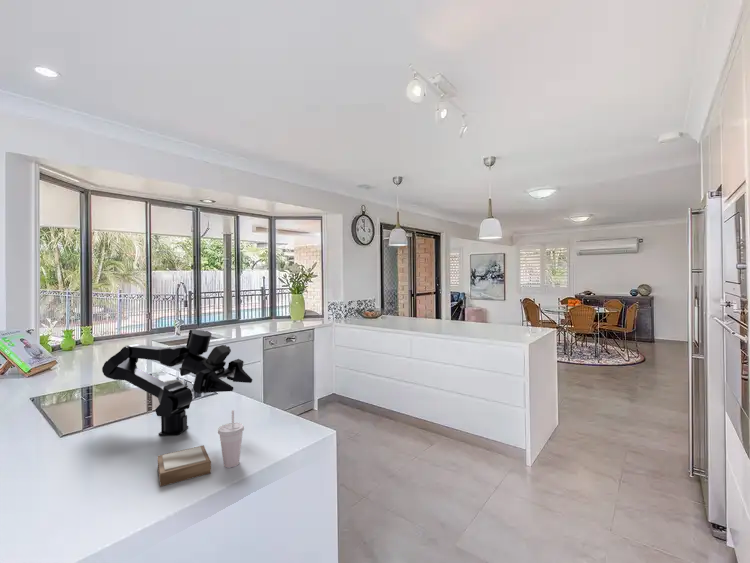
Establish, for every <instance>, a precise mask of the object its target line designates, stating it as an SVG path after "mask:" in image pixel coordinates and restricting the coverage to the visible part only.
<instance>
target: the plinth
mask: <svg viewBox="0 0 750 563" xmlns="http://www.w3.org/2000/svg"><path fill="white" fill-rule="evenodd" d="M211 463H212V462H211V458H210V457H209V454H208V452H207V449H206V447H205V445H199V446H196V447H191V448H190V447H189V448H186V449H182V450H177V451H176V450H175V451H172V452H168V453H163V454H160V455H157V472H158V477H159V478H158V479H159V485H160V487H163V486H164V487H165V486H167V485H171V484H174V483H176V484H177V483H179V482H183V481H187V480H189V479H194V478H198V477H202V476H205V475H210V474H211V473H212V464H211Z"/></svg>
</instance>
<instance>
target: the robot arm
mask: <svg viewBox="0 0 750 563" xmlns="http://www.w3.org/2000/svg"><path fill="white" fill-rule="evenodd" d="M211 337H212V333H211V332H210V331H208V330H200V329H196V328H193V329H189V331H188V337H187V341H186V345H185V344H184V345H183V344H182V345H175V346H169V347H162V346H152V345H144V344H139V343H135V344H129V345H125V346H123V347H122V348H121V349H120V351H118V352H117V353H115V354H114V355H112V356H111V357H110V358H108V360H105V362H104V363H103V366H102V368H101V372H102V374H103V375H104V376H105V377H106V378H108V379H110V380H114V381H126V382H128V384H132V385H134V386H135V387H137V388H138V389H140V390H143V391H144V392H146V393H148V394H150V395H151V396H153V397H155V398H157V399H158V403H159V404H158V406H156V408H155V410H154V411H155V414H156V416H157V417H160V421H161V422H160V423H161V424H160V426H161V429H160V430H161V431H160V432H158V434H157V435H158V436H178V435H180V434H182V433H184V432H185V430H187V429H188V428H189V425H188V415H187V414H186V411H187V410H188V409H190V406H191V403H192V401H193V397H194V396H193V393H192V390H191V388H189V385H187V384H182V383H181V382H175V383H172V384H167V383H165V382H166V381H163V380H161V379H158V378H157V377H155V376H154V375H151V374H150V373H148V372H146V371H144V370H142V369H140V368H138V366H137V363H138V362H139V359H140V360H149V361H157V362H159V363H160V365H163V366H165V367H166V366H167V367H170V368H171V367H176V366H178V365H181V366H180V367H179V374H180V376H181V377H183V376H186V375H189V374H193V375H195V378H194V381H193V386H192V389H193V391H194V393H197V394H199V395H200V394H208V393H223V392H233V391H234V387H233V386H232V385H230V384H229V383H227V382H226V381H225V380H223V379H225V378H226V379H227V380H229V381H232V382H233V383H247V384H251V383H252V382H253V379H252V377H251V376H250V375H249V374H248V373H247V372H246V371H245V370H244V369H243V367H244V364H245V362H244V360H242V359H239V358H238V359H234V360H231V361H229V362H228V366H227V368H226V369H225V366H226V362H227V361H225V360H227V358H228V356H229V355H230V354H231V352H232V350H231V347H230V346H227V345H226V344H225V345H224V344H222V345H218V346H217V345H216V346H215V347H213V348H212V350H211V351H210V353H209V355H207V357H204V356H202V355H204V353H207V352H208V350H209V345H210V342H211Z"/></svg>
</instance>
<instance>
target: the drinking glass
mask: <svg viewBox="0 0 750 563" xmlns="http://www.w3.org/2000/svg"><path fill="white" fill-rule="evenodd" d="M164 382H165V383H167V384H172V383H175V382H181V383H182V384H183V383H184V381H183V380H182V379H172V380H167V381H164ZM183 385H184V384H183Z"/></svg>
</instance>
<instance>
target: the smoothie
mask: <svg viewBox="0 0 750 563" xmlns="http://www.w3.org/2000/svg"><path fill="white" fill-rule="evenodd" d="M244 430H245V426H244V424H243V423H240V422H235V410H234V409H233V410H231V422H230V423H226V424H222V425H221V426H219V428H218V429H217V433H218V435H219V439H220V440H219V441H220V447H221V454H222V460H223V465H224V468H230V469H231V468H234V467H237V466H238V465H239V464H240V459H241V449H242V440H243V431H244Z"/></svg>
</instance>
